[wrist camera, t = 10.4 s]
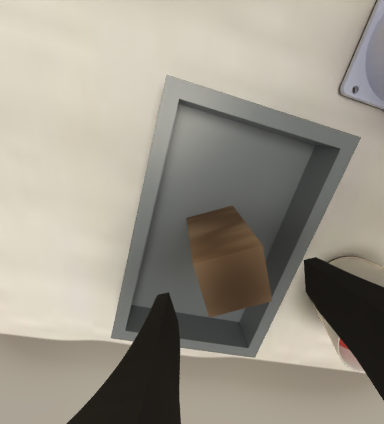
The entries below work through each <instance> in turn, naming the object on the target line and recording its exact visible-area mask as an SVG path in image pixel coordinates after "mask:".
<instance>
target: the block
mask: <svg viewBox="0 0 384 424" xmlns="http://www.w3.org/2000/svg"><path fill="white" fill-rule="evenodd" d="M186 221H187V228H188V234H189V241H190V248H191V255H192V262H193V266H194V270H195V273H196V276H197V279H198V283H199V286H200V289H201V293H202V296H203V299H204V302H205V306H206V309H207V312H208V316H209V318H210V317H214V316H218V315H222V314H225V313H229V312H233V311H237V310H240V309H244V308H248V307H252V306H256V305H259V304H263V303H267V302H271V301H272V296H271V291H270V285H269V279H268V273H267V267H266V262H265V256H264V250H263V245H262V244H261V242H260V241H259V240H258V238H257V237H256V236H255V234H254V233H253V232H252V230H251V229H250V228H249V226H248V225H247V224H246V222H245V221H244V220H243V219H242V217H241V216H240V215H239V213H238V212H237V211H236V209H235V208H234V207H233V205H232V206H228V207H225V208H221V209H217V210H214V211H210V212H206V213H203V214H199V215H195V216H192V217H188V218H186Z"/></svg>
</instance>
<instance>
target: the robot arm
mask: <svg viewBox="0 0 384 424" xmlns="http://www.w3.org/2000/svg"><path fill="white" fill-rule="evenodd" d="M353 87H354V88H355V92H354V93H352V89H353ZM340 92H341V94H342V95H343V96H346V97H349V98H352V99H355V100H358V101H360V102H363V103H366V104H369V105H372V106H375V107H377V108H380V109H383V110H384V0H378V1H377V3H376V5H375V8H374V10H373V12H372V15H371V17H370V19H369V22H368V24H367V26H366V29H365V31H364V33H363V36H362V38H361V40H360V43H359V45H358V47H357V50H356V52H355V54H354V57H353V59H352V61H351V64H350V66H349V68H348V71H347V73H346V75H345V78H344V80H343V82H342V85H341V88H340ZM304 270H305V285H306V293H307V294H308V296H309V297H310V299H311V301H312V302H313V304H314V306H315V307H316V309H317V310H318V311H319V313H320V314H321V315H322V316H323V318H324V319H325V320H326V321H327V323H328V324H329V325H330V326H331V328H332V329H333V330H334V331H335V332H336V334H337V335H338V336H339V337H340V339H341V340H342V341H343V342H344V344H345V345H346V346H347V347H348V349H349V350H350V351H351V353H352V354H353V355H354V357H355V358H356V359H357V361H358V362H359V364H360V365H361V367H362V368H363V370H364V371H365V373H366V374H367V376H368V377H369V378H370V380H371V381H372V383H373V385H374V386H375V388H376V389H377V391H378V392H379V394H380V396H381V397H382V398H383V400H384V287H382V286H380V285H377V284H375V283H372V282H370V281H367V280H365V279H362V278H360V277H358V276H355V275H353V274H351V273H349V272H347V271H344V270H342V269H340V268H338V267H336V266H334V265H331V264H329V263H327V262H325V261H323V260H320V259H318V258H316V257H315V258H311V259H307V260H304ZM179 371H180V333H179V323H178V319H177V316H176V313H175V310H174V306H173V303H172V300H171V297H170V294H169V292H168V293H163V294H159V295H157V297H156V298H155V301H154V303H153V305H152V307H151V310H150V312H149V314H148V316H147V318H146V320H145V322H144V324H143V326H142V328H141V329H140V331H139V333H138V335H137V336H136V338H135V340H134V342H133V343H132V345H131V347H130V348H129V350H128V351H127V353H126V354H125V356H124V357H123V359H122V361H121V362H120V363H119V365H118V366H117V367H116V369H115V370H114V371H113V373H112V374H111V375H110V376H109V378H108V379H107V380H106V382H105V383H104V384H103V385H102V386H101V388H100V389H99V390H98V391H97V392H96V394H95V395H94V396H93V397H92V398H91V399H90V400H89V401H88V402H87V404H86V405H85V406H84V407H83V408H82V409H81V410H80V411H79V412H78V413H77V414H76V415H75V416H74V417H73V418H72V419H71V420H70V421H69V422H68V423H67V424H181V419H180V403H179V374H180V373H179Z"/></svg>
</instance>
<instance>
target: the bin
mask: <svg viewBox="0 0 384 424" xmlns="http://www.w3.org/2000/svg"><path fill="white" fill-rule="evenodd" d="M360 139H361V137H358V136H355V135H351V134H348V133H345V132H342V131H339V130H336V129H333V128H330V127H327V126H324V125H321V124H317V123H314V122H311V121H308V120H305V119H302V118H299V117H296V116H293V115H290V114H287V113H284V112H280V111H277V110H274V109H271V108H268V107H265V106H262V105H259V104H256V103H253V102H250V101H246V100H243V99H240V98H237V97H234V96H231V95H228V94H225V93H222V92H219V91H216V90H213V89H209V88H206V87H203V86H200V85H197V84H194V83H191V82H188V81H185V80H182V79H179V78H175V77H172V76H169V75H166V79H165V84H164V89H163V93H162V98H161V103H160V108H159V112H158V117H157V122H156V127H155V131H154V136H153V141H152V146H151V150H150V155H149V160H148V165H147V169H146V174H145V179H144V184H143V188H142V193H141V198H140V202H139V207H138V212H137V217H136V221H135V226H134V231H133V236H132V240H131V245H130V250H129V255H128V259H127V264H126V269H125V274H124V278H123V283H122V288H121V293H120V297H119V302H118V307H117V312H116V316H115V321H114V326H113V331H112V335H111V338H113V339H120V340H128V341H134V340H135V338H136V336H137V335H138V333H139V331H140V329H141V328H142V326H143V324H144V322H145V320H146V318H147V316H148V314H149V312H150V310H151V307H152V305H153V303H154V301H155V298H156V297H157V295H159V294H163V293H168V292H169V294H170V297H171V300H172V303H173V306H174V310H175V313H176V316H177V319H178V323H179V333H180V348H187V349H194V350H202V351H209V352H216V353H224V354H231V355H238V356H246V357H253V358H255V356H256V354H257V352H258V350H259V348H260V346H261V344H262V342H263V340H264V338H265V335H266V333H267V331H268V329H269V327H270V325H271V323H272V321H273V319H274V317H275V315H276V313H277V311H278V309H279V306H280V304H281V302H282V300H283V298H284V296H285V294H286V292H287V290H288V288H289V286H290V284H291V282H292V279H293V277H294V275H295V273H296V271H297V269H298V267H299V265H300V263H301V261H302V259H303V257H304V255H305V253H306V250H307V248H308V246H309V244H310V242H311V240H312V238H313V236H314V234H315V232H316V230H317V228H318V226H319V224H320V221H321V219H322V217H323V215H324V213H325V211H326V209H327V207H328V205H329V203H330V201H331V199H332V197H333V194H334V192H335V190H336V188H337V186H338V184H339V182H340V180H341V178H342V176H343V174H344V172H345V170H346V168H347V165H348V163H349V161H350V159H351V157H352V155H353V153H354V151H355V149H356V147H357V145H358V143H359V141H360ZM232 205H233V207H234V208H235V209H236V211H237V212H238V213H239V215H240V216H241V217H242V219H243V220H244V221H245V222H246V224H247V225H248V226H249V228H250V229H251V230H252V232H253V233H254V234H255V236H256V237H257V238H258V240H259V241H260V242H261V244H262V245H263V250H264V256H265V262H266V267H267V273H268V279H269V285H270V291H271V296H272V301H271V302H267V303H263V304H259V305H256V306H252V307H248V308H244V309H240V310H237V311H233V312H229V313H225V314H222V315H218V316H214V317H210V318H209V316H208V312H207V309H206V306H205V302H204V299H203V296H202V293H201V289H200V286H199V283H198V279H197V276H196V273H195V270H194V266H193V262H192V255H191V248H190V241H189V234H188V228H187V221H186V218H188V217H192V216H195V215H199V214H203V213H206V212H210V211H214V210H217V209H221V208H225V207H228V206H232Z"/></svg>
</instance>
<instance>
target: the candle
mask: <svg viewBox="0 0 384 424" xmlns="http://www.w3.org/2000/svg"><path fill="white" fill-rule="evenodd" d="M329 264H331V265H334V266H336V267H338V268H340V269H342V270H344V271H347V272H349V273H351V274H353V275H355V276H358V277H360V278H362V279H365V280H367V281H370V282H372V283H375V284H377V285H380V286H382V287H384V268H383V267H381V266H379V265H377V264H374V263H372V262H370V261H367V260H365V259H362V258H359V257H351V256H349V257H342V258H338V259H335V260H333V261H331V262H329ZM312 303H313V302H312ZM313 305H314V304H313ZM314 307H315V306H314ZM315 310H316V312H317V314H318V316H319V318H320V320H321V322H322V324H323V326H324V328H325V329H326V331H327V333H328V335H329V337H330V339H331V341H332V343H333V345H334V347H335V349H336V351H337V353H338V355H339V357H340V359H341V360H342V362H343V363H344V364H345V365H346V366H347V367H349V368H350V369H352V370H354V371H357V372H361V373H365V371H364V370H363V368H362V367H361V365H360V364H359V362H358V361H357V359H356V358H355V357H354V355H353V354H352V353H351V351H350V350H349V349H348V347H347V346H346V345H345V344H344V342H343V341H342V340H341V339H340V337H339V336H338V335H337V334H336V332H335V331H334V330H333V329H332V328H331V326H330V325H329V324H328V323H327V321H326V320H325V319H324V318H323V316H322V315H321V314H320V313H319V311H318V310H317V309H316V307H315Z"/></svg>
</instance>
